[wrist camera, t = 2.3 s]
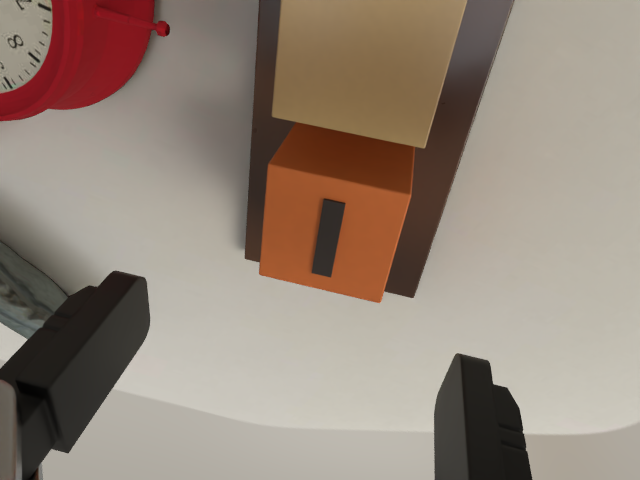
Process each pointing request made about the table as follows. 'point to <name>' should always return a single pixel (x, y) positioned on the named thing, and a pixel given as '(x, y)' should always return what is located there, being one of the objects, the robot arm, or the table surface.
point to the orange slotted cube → (335, 210)
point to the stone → (25, 294)
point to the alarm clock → (69, 51)
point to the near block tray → (375, 94)
